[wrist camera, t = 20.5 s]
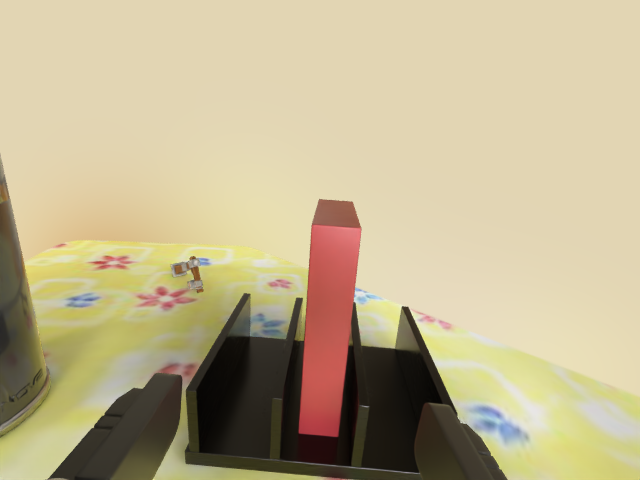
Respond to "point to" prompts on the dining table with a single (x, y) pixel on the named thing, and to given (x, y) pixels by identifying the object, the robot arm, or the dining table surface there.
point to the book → (328, 315)
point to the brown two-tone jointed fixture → (191, 265)
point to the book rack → (284, 404)
